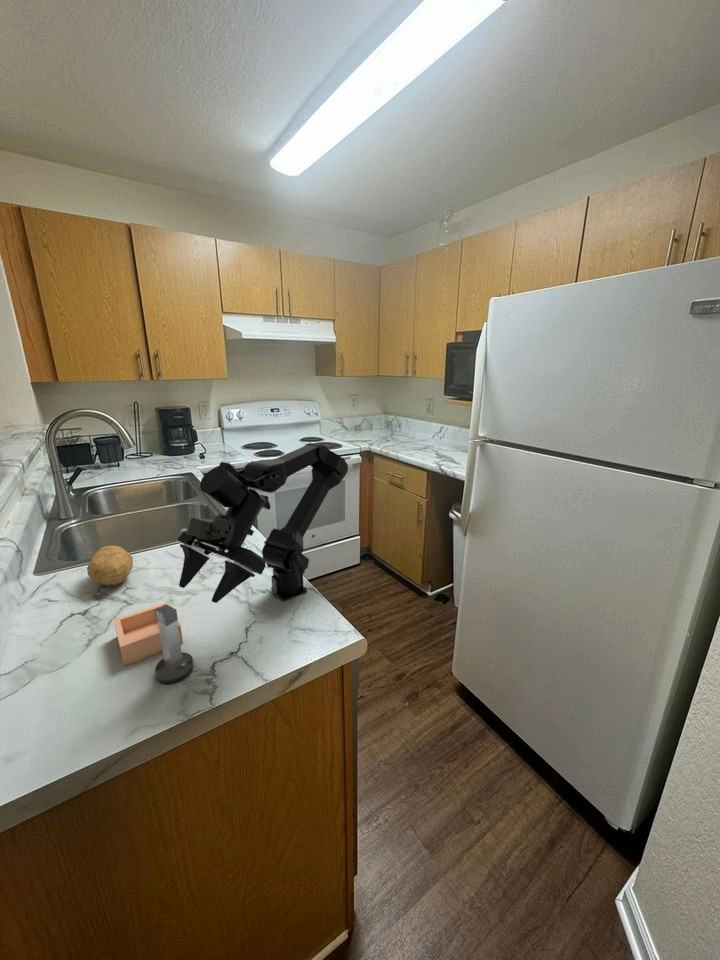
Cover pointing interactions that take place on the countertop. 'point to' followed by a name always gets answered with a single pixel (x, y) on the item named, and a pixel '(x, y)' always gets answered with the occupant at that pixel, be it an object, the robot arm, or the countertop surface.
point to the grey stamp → (171, 649)
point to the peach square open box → (140, 634)
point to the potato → (110, 565)
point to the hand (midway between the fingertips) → (197, 594)
